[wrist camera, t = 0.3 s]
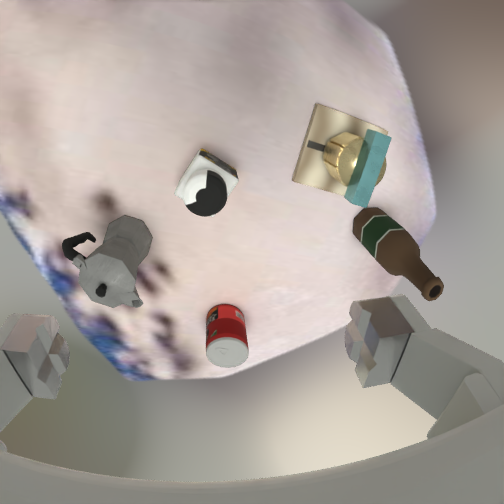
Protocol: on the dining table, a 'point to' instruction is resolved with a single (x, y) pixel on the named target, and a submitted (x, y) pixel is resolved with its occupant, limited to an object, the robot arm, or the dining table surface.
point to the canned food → (226, 336)
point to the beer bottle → (395, 250)
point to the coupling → (357, 163)
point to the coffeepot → (112, 262)
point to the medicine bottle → (206, 184)
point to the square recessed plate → (318, 135)
